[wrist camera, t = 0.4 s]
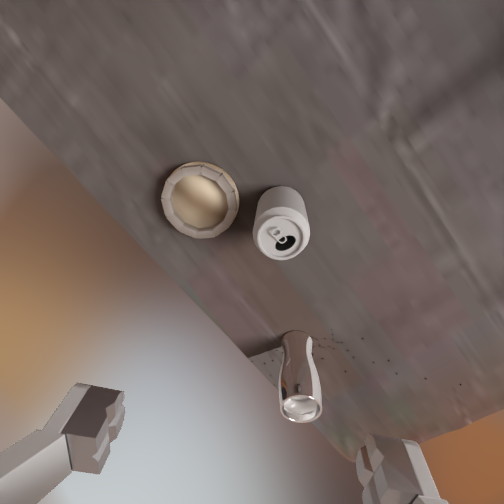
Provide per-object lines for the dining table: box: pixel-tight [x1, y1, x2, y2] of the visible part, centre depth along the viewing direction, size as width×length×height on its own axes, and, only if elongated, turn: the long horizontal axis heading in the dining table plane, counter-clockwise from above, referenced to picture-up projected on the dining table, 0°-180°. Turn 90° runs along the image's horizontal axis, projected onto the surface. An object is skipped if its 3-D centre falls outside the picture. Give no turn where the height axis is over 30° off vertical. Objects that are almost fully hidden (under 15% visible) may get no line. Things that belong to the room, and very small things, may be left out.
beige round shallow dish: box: [161, 161, 239, 239], centre depth 50 cm, size 12×12×2 cm
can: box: [253, 186, 310, 260], centre depth 45 cm, size 8×8×12 cm
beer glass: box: [279, 331, 322, 423], centre depth 56 cm, size 7×7×15 cm
